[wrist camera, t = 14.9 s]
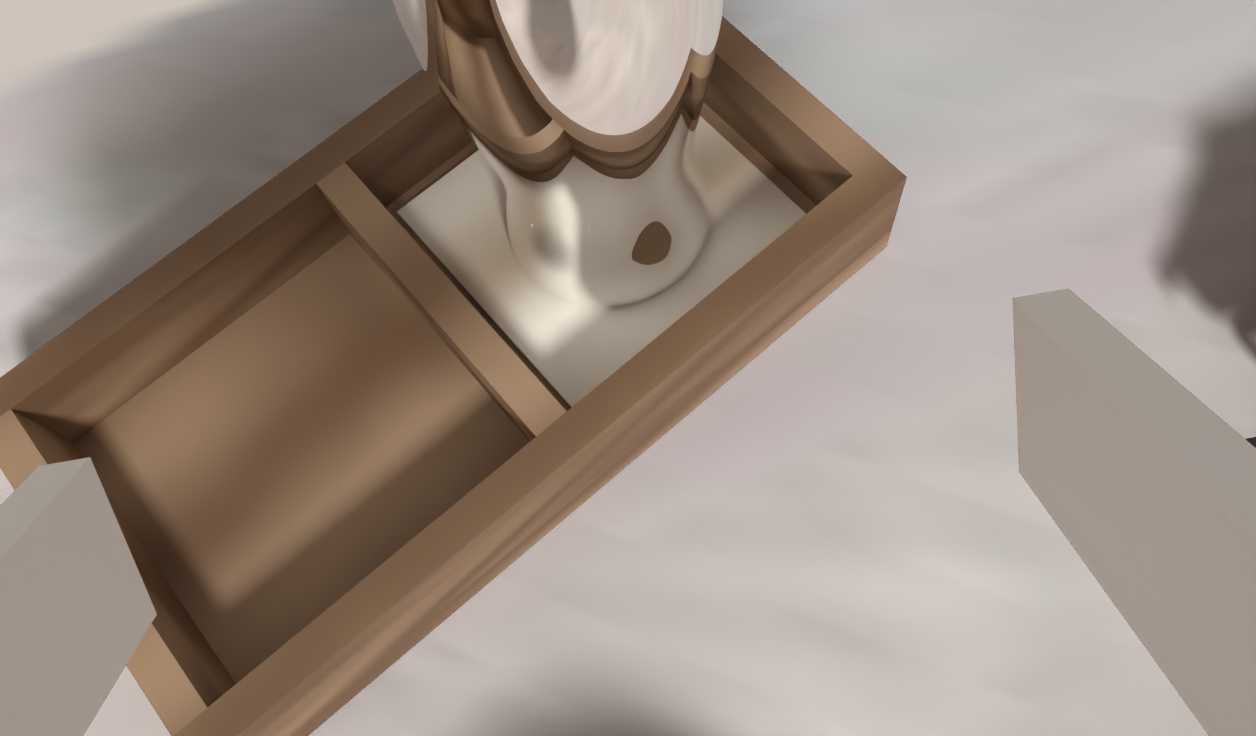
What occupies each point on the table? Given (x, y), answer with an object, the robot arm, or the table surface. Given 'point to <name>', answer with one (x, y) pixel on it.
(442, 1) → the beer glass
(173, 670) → the wooden tray
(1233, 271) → the table surface
